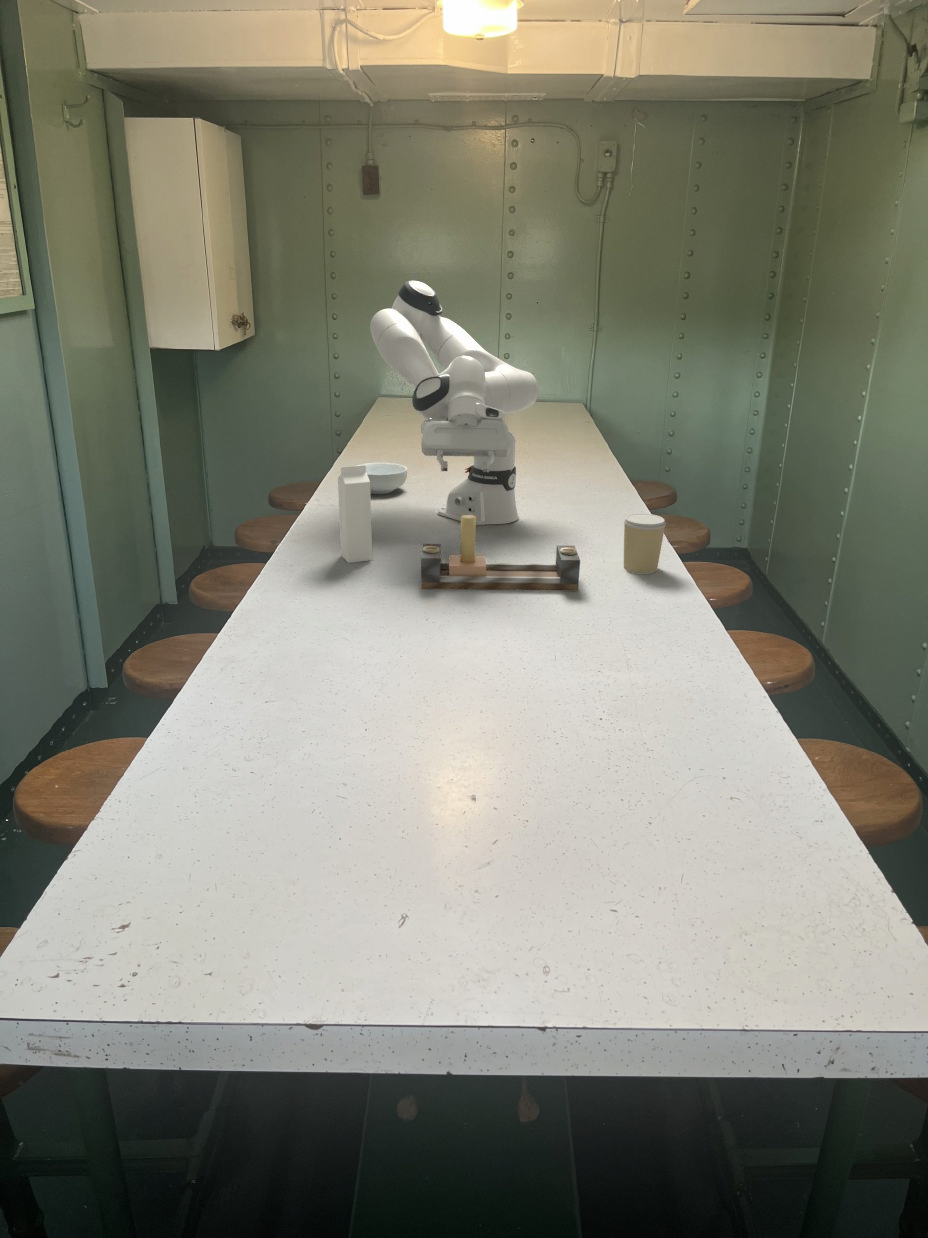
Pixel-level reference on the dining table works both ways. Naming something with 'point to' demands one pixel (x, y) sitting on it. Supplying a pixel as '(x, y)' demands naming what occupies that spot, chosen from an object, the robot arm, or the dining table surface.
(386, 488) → the cereal bowl
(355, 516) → the milk
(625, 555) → the coffee cup
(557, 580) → the rail track
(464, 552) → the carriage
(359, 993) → the dining table surface
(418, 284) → the robot arm
